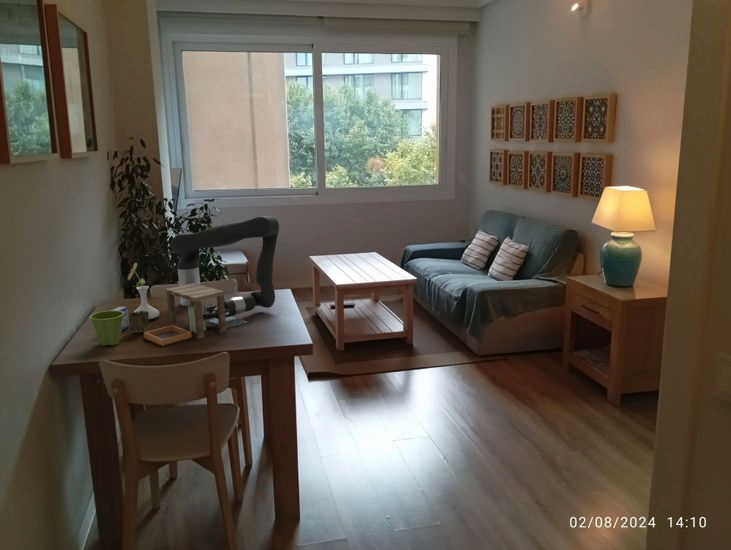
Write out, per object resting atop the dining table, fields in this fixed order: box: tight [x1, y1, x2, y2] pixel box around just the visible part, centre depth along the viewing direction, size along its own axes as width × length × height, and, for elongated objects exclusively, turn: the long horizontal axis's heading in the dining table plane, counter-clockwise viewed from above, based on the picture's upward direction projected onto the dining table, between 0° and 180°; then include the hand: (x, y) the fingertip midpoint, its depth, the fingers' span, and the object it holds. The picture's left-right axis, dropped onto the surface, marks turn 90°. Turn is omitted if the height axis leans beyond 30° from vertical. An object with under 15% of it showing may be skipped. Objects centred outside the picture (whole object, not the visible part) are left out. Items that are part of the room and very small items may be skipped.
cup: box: [128, 311, 149, 334], centre depth 237 cm, size 8×7×8 cm
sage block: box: [187, 305, 207, 333], centre depth 237 cm, size 4×4×10 cm
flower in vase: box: [126, 262, 160, 321], centre depth 253 cm, size 13×11×25 cm
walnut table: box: [164, 283, 227, 340], centre depth 237 cm, size 22×13×16 cm, turn 47°
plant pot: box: [89, 310, 124, 346], centre depth 224 cm, size 12×12×11 cm
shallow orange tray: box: [143, 325, 193, 347], centre depth 229 cm, size 14×12×2 cm
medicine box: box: [109, 306, 130, 331], centre depth 241 cm, size 8×4×9 cm, turn 168°
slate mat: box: [207, 316, 248, 329], centre depth 248 cm, size 14×10×1 cm
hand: (197, 315), depth 237 cm, fingers open, 8 cm apart
